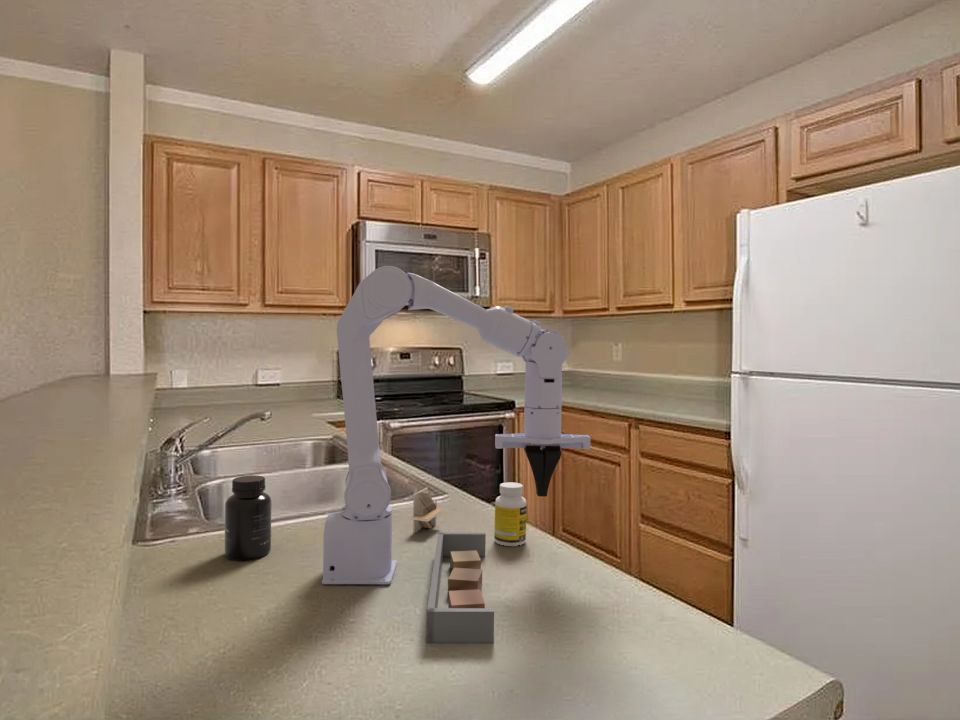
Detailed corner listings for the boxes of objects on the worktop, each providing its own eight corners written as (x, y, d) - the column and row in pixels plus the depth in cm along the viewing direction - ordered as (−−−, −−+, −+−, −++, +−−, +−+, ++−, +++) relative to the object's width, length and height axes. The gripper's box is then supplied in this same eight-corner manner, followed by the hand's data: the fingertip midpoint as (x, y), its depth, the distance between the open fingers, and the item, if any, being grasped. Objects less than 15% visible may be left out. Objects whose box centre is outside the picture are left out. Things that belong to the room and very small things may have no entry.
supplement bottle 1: (214, 557, 87) (214, 480, 86) (247, 543, 93) (248, 471, 93) (248, 564, 84) (249, 485, 84) (280, 550, 90) (281, 475, 90)
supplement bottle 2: (524, 548, 92) (524, 489, 92) (491, 545, 94) (492, 487, 93) (527, 537, 98) (528, 482, 98) (497, 535, 99) (498, 480, 99)
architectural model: (443, 529, 104) (444, 489, 104) (427, 540, 97) (428, 498, 97) (426, 526, 105) (427, 487, 105) (409, 538, 98) (410, 496, 98)
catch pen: (426, 642, 62) (426, 611, 62) (438, 554, 89) (438, 532, 89) (493, 642, 63) (494, 611, 63) (485, 554, 90) (485, 532, 90)
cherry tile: (451, 626, 67) (451, 605, 67) (448, 610, 71) (448, 590, 71) (484, 624, 67) (484, 603, 67) (479, 608, 71) (479, 589, 71)
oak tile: (453, 578, 81) (453, 561, 80) (450, 568, 84) (450, 551, 84) (480, 577, 81) (480, 560, 81) (476, 566, 85) (476, 550, 85)
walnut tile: (447, 597, 74) (447, 578, 74) (453, 585, 78) (453, 567, 78) (477, 599, 74) (477, 581, 74) (482, 587, 78) (482, 569, 78)
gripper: (497, 409, 82) (496, 501, 82) (595, 410, 83) (594, 502, 83) (494, 404, 89) (493, 489, 89) (585, 405, 90) (584, 490, 90)
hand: (541, 494), depth 87 cm, fingers closed
